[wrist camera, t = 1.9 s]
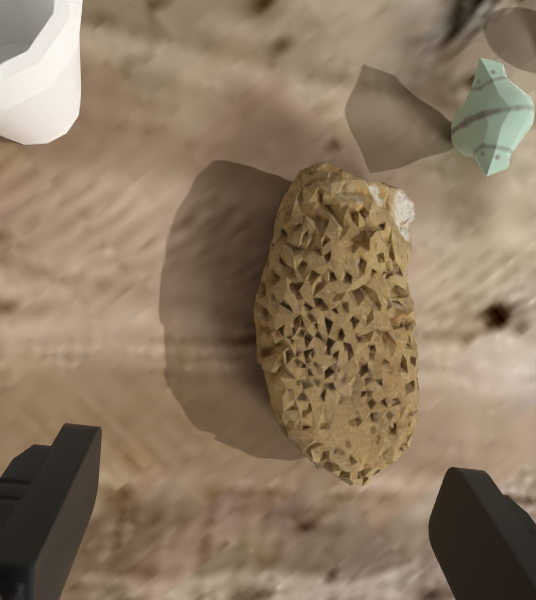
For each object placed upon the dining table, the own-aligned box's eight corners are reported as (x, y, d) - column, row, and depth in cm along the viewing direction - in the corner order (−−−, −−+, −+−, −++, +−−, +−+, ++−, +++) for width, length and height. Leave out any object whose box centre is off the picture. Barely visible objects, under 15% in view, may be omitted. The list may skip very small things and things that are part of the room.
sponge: (261, 180, 36) (205, 460, 31) (317, 135, 29) (256, 486, 24) (399, 235, 41) (368, 482, 37) (474, 208, 34) (448, 508, 30)
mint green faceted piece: (432, 85, 37) (492, 42, 31) (479, 86, 38) (546, 44, 32) (438, 190, 38) (498, 169, 31) (484, 188, 39) (551, 168, 32)
